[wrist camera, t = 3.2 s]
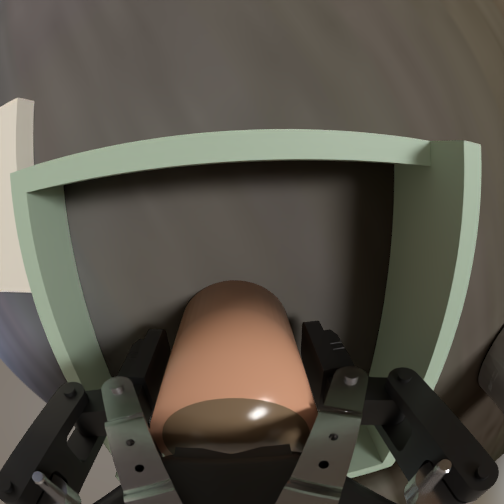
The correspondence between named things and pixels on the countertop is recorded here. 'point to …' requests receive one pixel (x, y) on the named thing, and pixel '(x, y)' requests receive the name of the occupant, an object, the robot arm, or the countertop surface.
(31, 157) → the cream tile
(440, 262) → the frame
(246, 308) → the terracotta pot
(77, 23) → the countertop surface
